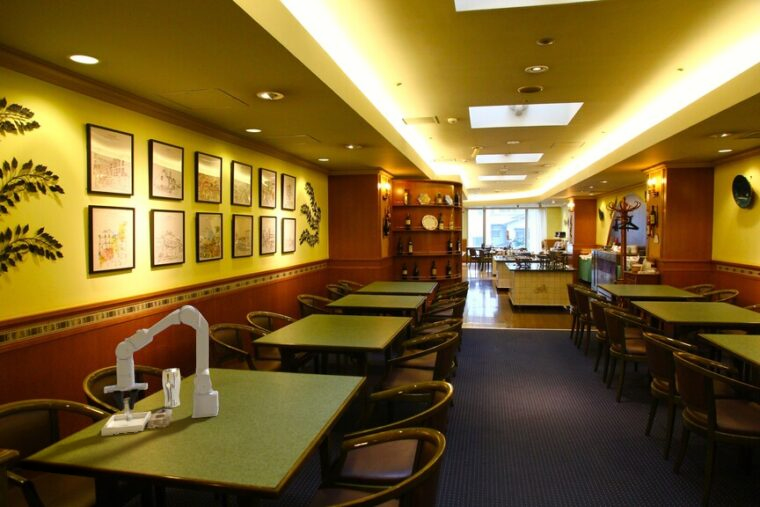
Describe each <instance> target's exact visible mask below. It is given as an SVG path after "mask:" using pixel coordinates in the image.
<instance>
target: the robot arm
mask: <svg viewBox="0 0 760 507" xmlns="http://www.w3.org/2000/svg"><path fill="white" fill-rule="evenodd" d="M181 322H182V323H183V324H185V325H188V326H191V327H192V328H193V329H194V330H196V331H195V332H196V333H195V335H196V337H195V338H196V340H195V342H196V346H195V347H196V348H195V349H196V350H195V352H196V355H195V356H196V365H195V366H196V368H195V376H194V378H193V385H194V390H193V391H192V394H193V395H192V398H193V412H192V415H191V419H198V418H208V417H217V416H218V413H219V409H220V404H219V392H218V391H219V390H213V388H212V387H213V384H212V381H211V378H210V370H209V369H210V368H209V367H210V366H209V364H210V363H209V357H210V355H209V353H210V351H209V350H210V348H209V342H210V341H209V340H210V338H209V337H210V336H209V323H208V321H207V320H206V319H205V317H204V316H203V315H202V313H201V312H200V311H199V310H198V309H197V308H196V307H194V306H193V305H189V304H186V305H183V306H182V307H180V308H178V309H176V310H173V312H171V313H169V314H168V315H166V316H165V317H164V318H162V319H161V320H160V321H158V322H156V323H155V324H154V325H152V326H151V327H149V328H142V329H138V330H136V331H135V332H136V333H135V334H133V335H132V336H130V337H128V338H127V337H126V338H124V341H121V342H119V343H118V344H117V346H116V348H115V356H116V364H115V366H116V384H114V385H107V386H104V387H103V394H107V393H112V397H113V399H114V400H115V401H116V404H117V406H118V409H119V411H120V412H122V411H124V405H123V403H122V400H123V399H124V392H126V391H127V392H129V393H128V395H129V398H130V409H131V410H132V411H133V410H134V409H135V403H136V400H137V397H138V395H139V392H140V390H145V391H146V390H147V389H148V388H149V387H148V386H149V385H148V382H143V383H142V382H141V383H140V382H139V383H138V382H136V381H135V364H134V362H135V361H134V358H133V357H134V356H133V354H134V352H137V351H139V350H141V349H142V348H144V347H145V346H147V345H148V344H150V343H151V342H153V340H154V339H153V338H154V336H156V335H157V334H159V333H161V332H162V331H163V330H165V329H167V328H168V327H171V325H180V324H181Z"/></svg>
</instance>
